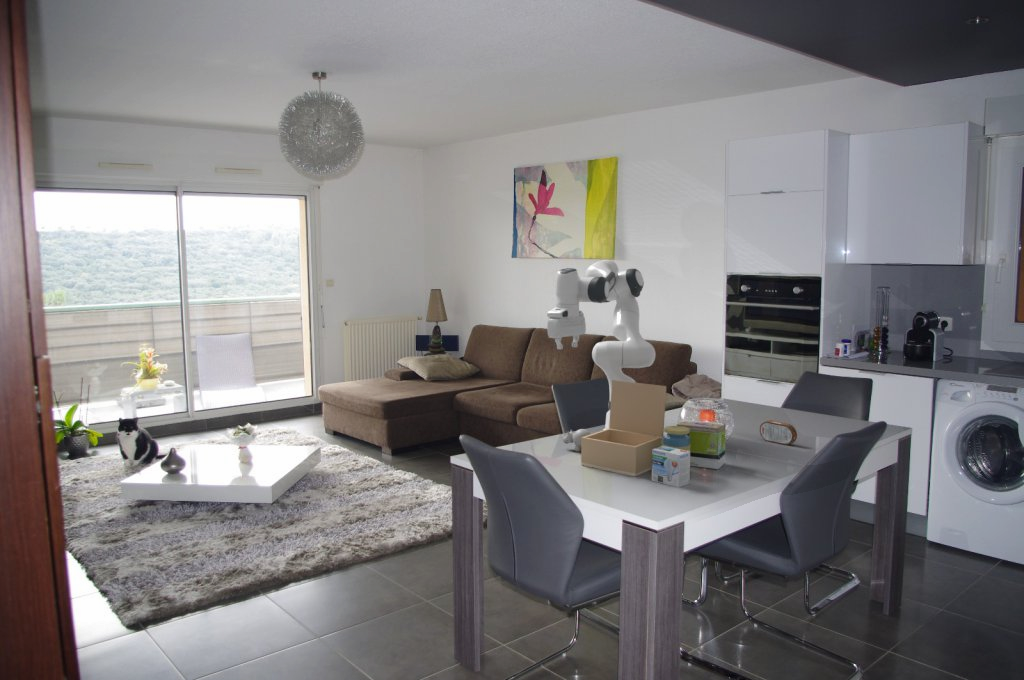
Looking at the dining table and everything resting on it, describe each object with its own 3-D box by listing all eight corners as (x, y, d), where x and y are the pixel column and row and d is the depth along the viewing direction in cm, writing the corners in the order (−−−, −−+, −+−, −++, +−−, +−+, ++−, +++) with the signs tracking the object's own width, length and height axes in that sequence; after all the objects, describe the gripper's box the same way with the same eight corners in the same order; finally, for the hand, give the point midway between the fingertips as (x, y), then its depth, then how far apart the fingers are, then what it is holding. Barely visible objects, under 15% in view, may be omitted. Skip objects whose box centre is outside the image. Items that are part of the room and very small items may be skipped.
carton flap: (609, 428, 273) (616, 427, 277) (662, 437, 259) (669, 435, 263) (612, 380, 273) (619, 379, 277) (665, 386, 258) (672, 385, 263)
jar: (660, 467, 257) (661, 425, 255) (687, 467, 257) (688, 425, 255) (665, 475, 248) (665, 431, 246) (692, 475, 247) (693, 431, 246)
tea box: (725, 463, 262) (726, 422, 260) (717, 470, 253) (718, 428, 252) (684, 457, 269) (684, 418, 268) (675, 464, 261) (676, 423, 259)
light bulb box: (650, 480, 242) (651, 448, 241) (662, 476, 246) (663, 445, 245) (679, 487, 234) (679, 454, 233) (690, 483, 239) (691, 450, 238)
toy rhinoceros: (567, 446, 287) (567, 424, 286) (595, 450, 281) (595, 428, 280) (558, 450, 281) (558, 428, 280) (586, 454, 275) (586, 432, 274)
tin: (797, 445, 286) (797, 424, 285) (792, 447, 284) (793, 425, 283) (762, 438, 297) (763, 418, 296) (758, 440, 295) (758, 419, 294)
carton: (608, 454, 274) (608, 428, 273) (661, 464, 260) (662, 437, 259) (581, 465, 260) (581, 437, 259) (635, 476, 246) (635, 447, 245)
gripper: (576, 309, 287) (576, 345, 288) (544, 312, 271) (544, 350, 273) (589, 310, 283) (589, 346, 284) (558, 313, 267) (558, 351, 269)
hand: (567, 348), depth 279 cm, fingers open, 8 cm apart
